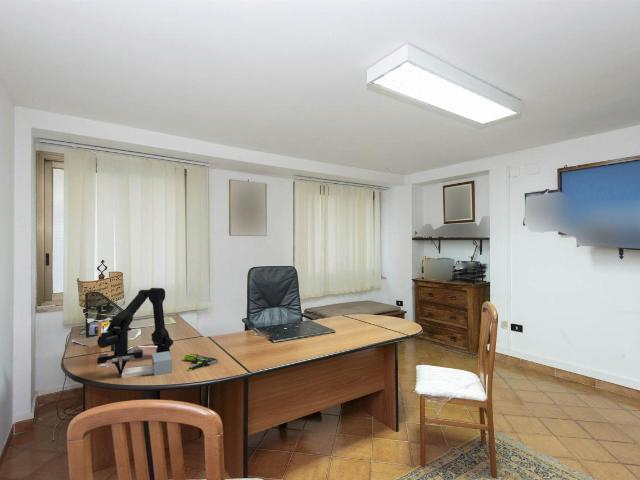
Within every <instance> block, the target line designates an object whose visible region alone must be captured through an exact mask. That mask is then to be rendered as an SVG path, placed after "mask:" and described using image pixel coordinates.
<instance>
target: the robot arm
mask: <svg viewBox="0 0 640 480" xmlns="http://www.w3.org/2000/svg"><path fill="white" fill-rule="evenodd" d="M146 300H149V302H150V303H151V304H152V311H153V312H152V313H153V320H154V321H153V323H154V331H153V333H151V334H150V336H151V341H152V343H153V345H154V347H156V348H155V353H160V352H166V351H169V353H170V354H171V349H170V348H171V347H172V346H173V345H174V340H173V339H172V338H171V337H170V334H169V331H168V330H167V328H166V326H165V315H164V305H163V304H164V302H165V300H166V290H165V288H162V287H151V288H150V287H149V289H140V290H139V291H138V292H137V295H136V296H135V297H134V298H133V299H132V301H131V302H129V304H128V305H127V306H126V307H125V308H124V309H123V310H122V311H120V312H118V313H116V314H115V316H113V317H112V319H111V322H110V323H109V325H108V326H107V329H106V331H104V332H101V333H100V335H99V337H98V338H97V339H96V341H97V345H98V347H99V348H101V349H105V348H108V347H110V352H113V354H112V355H108V354H109V353H103V354H99V355H98V356H97V359H96V364H97V365H102V364H106V363H107V361H110V360H111V364H113V365H114V366H115V367H116V369H117V371H118V373H119V375H122V372H123V369H125V366H126V364H127V362H130V358H131V357H132V358H134V359H141V358H143V357H144V351H143V349H142V348H140V349H133V351H132V352H129V345H128V344H129V343H128V342H129V332H130V331H132V330H133V329H132V328H131V327H129V326H130V325H131V323H133V320H134V315H135V314H136V312H138V310H139V309H140V308H141V307H142V306H143V304H144V303H145V301H146ZM120 359H122V360H121V362H120Z"/></svg>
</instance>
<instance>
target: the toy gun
mask: <svg viewBox="0 0 640 480" xmlns="http://www.w3.org/2000/svg"><path fill="white" fill-rule="evenodd" d="M184 360H188V361H192V362H193V364H191V365H189V367H188V368H187V369H186V370H187V371H189V372H190V371H194V370H197V369H200V368H205V367H210V366H214V365H216V364H218V363H219V360H218V359H217V358H214V357H211V356H207V355H201V354H198V353H189V354H188V353H187V354H186V355H184Z"/></svg>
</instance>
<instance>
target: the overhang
mask: <svg viewBox="0 0 640 480" xmlns="http://www.w3.org/2000/svg"><path fill="white" fill-rule="evenodd" d="M151 354H152V355H151V365H154V373H153V376H159V375H164V374H169V373H173V358H172V356H171V352H170V353H169V351H166V352H160V353H156V352H154V353H151Z"/></svg>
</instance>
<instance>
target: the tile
mask: <svg viewBox="0 0 640 480" xmlns="http://www.w3.org/2000/svg"><path fill="white" fill-rule="evenodd" d="M151 374H154V365H152V364H151V365H145V366H143V365H142V366H137V367H135V366H134V367H128V368H124V369H123V371H122V374H121V378H122V379H123V378H130V377H131V378H132V377H136V376H144V375H151Z"/></svg>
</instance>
